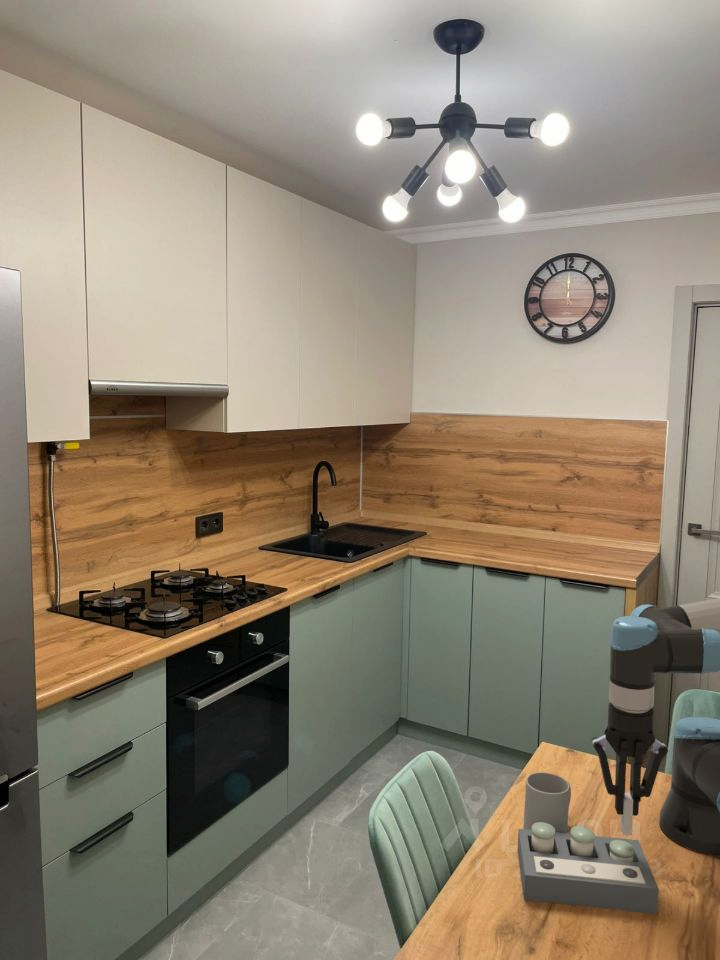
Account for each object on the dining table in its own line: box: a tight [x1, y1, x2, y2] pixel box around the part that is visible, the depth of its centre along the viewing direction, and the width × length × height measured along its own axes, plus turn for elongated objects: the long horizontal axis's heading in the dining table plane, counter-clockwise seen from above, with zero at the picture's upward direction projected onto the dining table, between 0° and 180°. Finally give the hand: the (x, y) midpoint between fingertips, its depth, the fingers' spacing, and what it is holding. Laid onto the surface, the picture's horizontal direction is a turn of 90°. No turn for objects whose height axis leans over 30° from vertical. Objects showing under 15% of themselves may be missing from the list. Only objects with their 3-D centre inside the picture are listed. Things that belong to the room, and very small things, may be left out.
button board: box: [517, 828, 660, 915], centre depth 130 cm, size 22×14×4 cm, turn 82°
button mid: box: [570, 825, 596, 858], centre depth 132 cm, size 4×4×4 cm
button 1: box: [531, 822, 555, 854], centre depth 133 cm, size 4×4×4 cm
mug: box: [522, 772, 572, 833], centre depth 145 cm, size 12×8×11 cm
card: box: [534, 856, 645, 885], centre depth 126 cm, size 18×4×1 cm, turn 82°
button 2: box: [609, 840, 634, 862], centre depth 132 cm, size 4×4×4 cm
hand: (625, 830), depth 131 cm, fingers closed
